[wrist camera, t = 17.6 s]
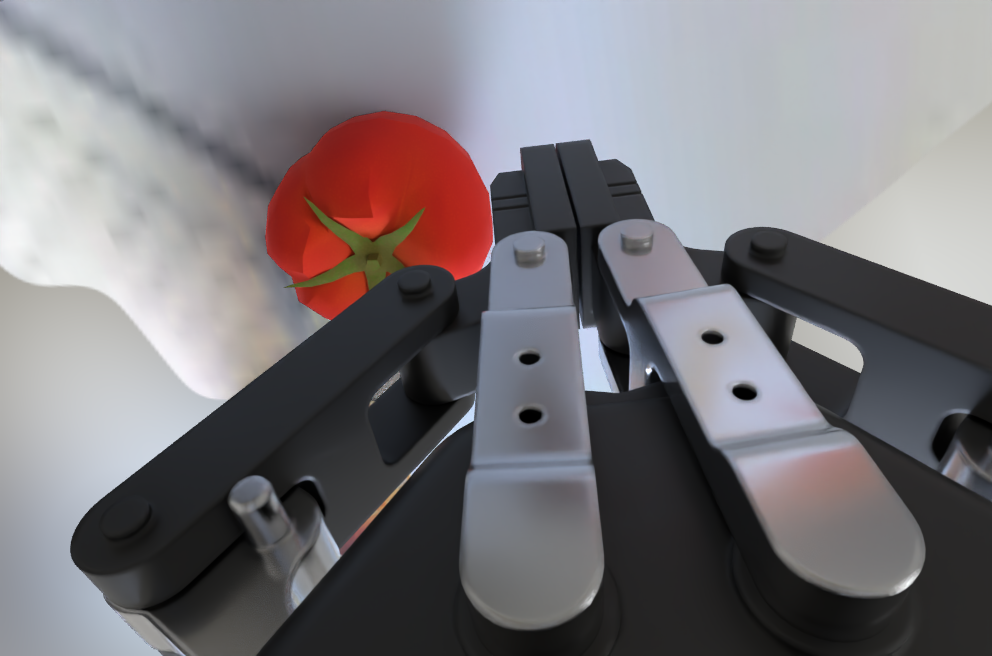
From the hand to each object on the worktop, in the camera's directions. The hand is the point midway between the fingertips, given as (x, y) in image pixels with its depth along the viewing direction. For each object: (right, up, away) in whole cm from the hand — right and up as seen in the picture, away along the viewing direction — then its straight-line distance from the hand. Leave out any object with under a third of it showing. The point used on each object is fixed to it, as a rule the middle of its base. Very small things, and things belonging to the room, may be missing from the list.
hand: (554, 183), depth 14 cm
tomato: (-9, +7, +32) cm, 34 cm away
